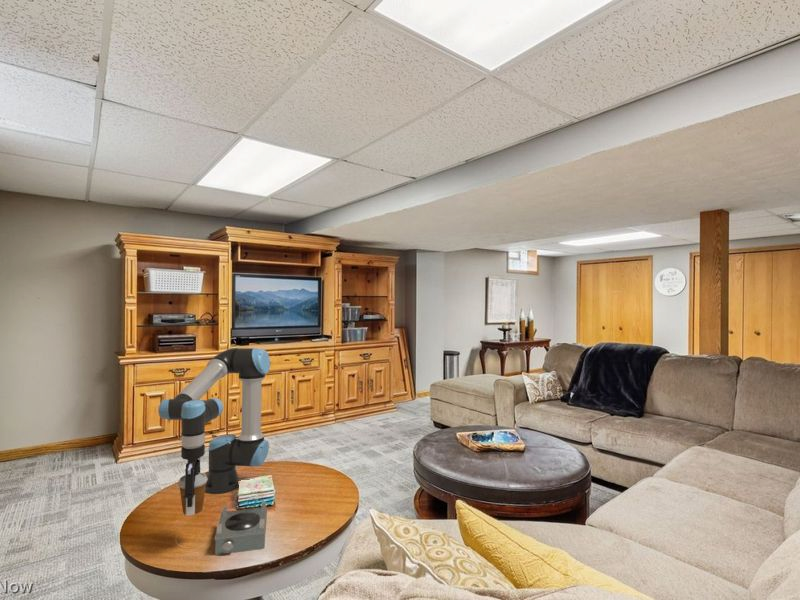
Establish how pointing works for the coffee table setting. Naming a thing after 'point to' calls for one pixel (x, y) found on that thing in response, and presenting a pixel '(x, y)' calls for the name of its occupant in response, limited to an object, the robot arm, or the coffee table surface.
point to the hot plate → (241, 530)
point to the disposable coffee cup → (198, 491)
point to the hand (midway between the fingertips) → (192, 508)
